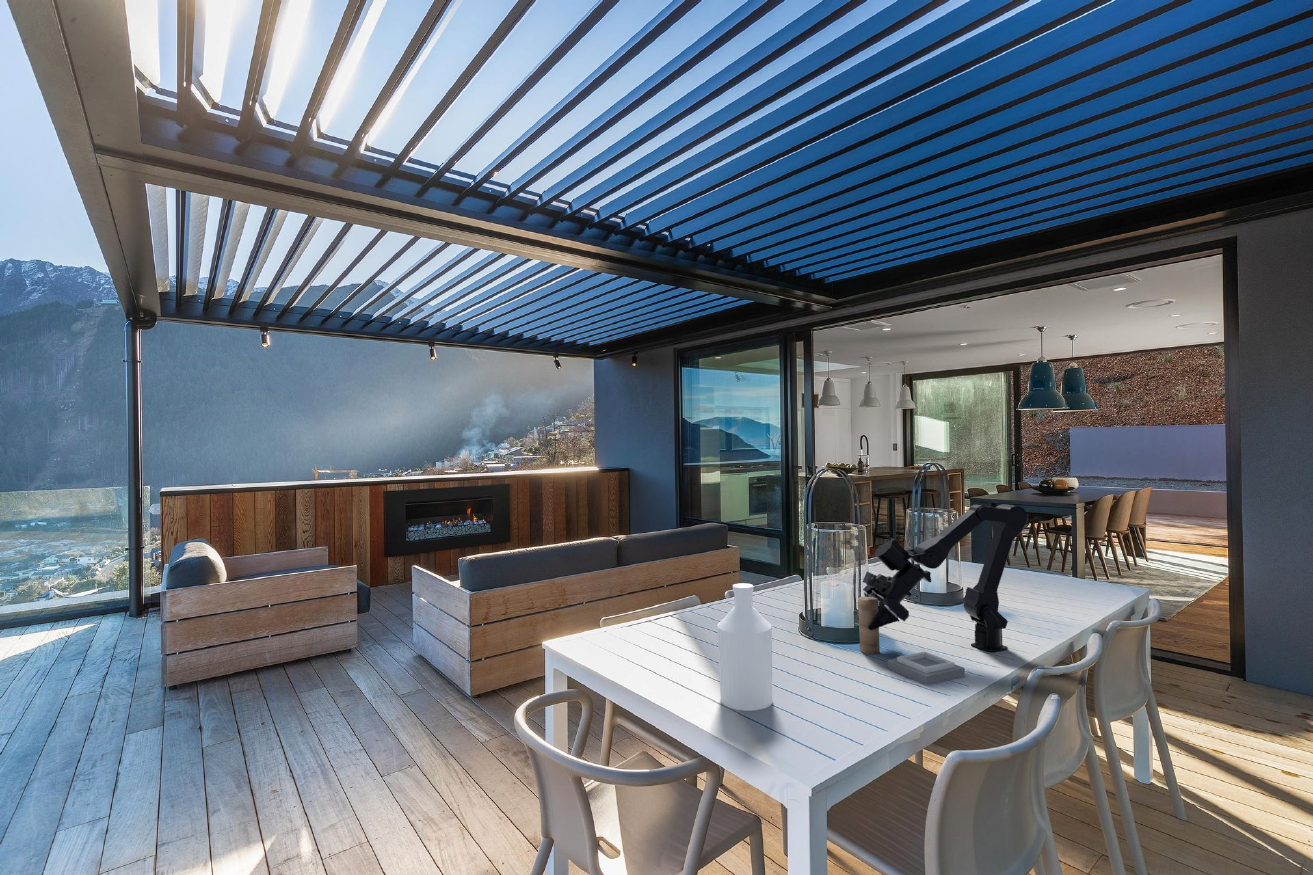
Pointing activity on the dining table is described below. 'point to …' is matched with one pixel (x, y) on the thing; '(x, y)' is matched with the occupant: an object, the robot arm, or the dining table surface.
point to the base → (926, 668)
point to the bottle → (745, 654)
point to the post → (866, 615)
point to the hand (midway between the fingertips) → (863, 624)
